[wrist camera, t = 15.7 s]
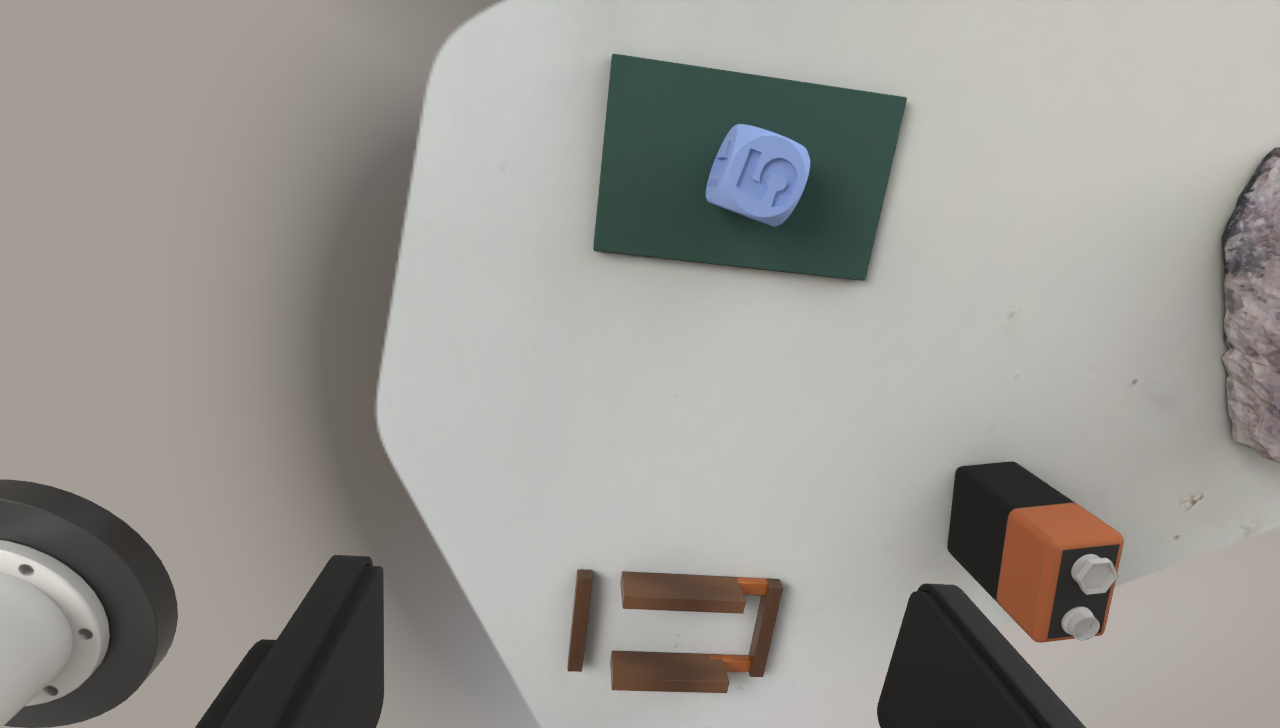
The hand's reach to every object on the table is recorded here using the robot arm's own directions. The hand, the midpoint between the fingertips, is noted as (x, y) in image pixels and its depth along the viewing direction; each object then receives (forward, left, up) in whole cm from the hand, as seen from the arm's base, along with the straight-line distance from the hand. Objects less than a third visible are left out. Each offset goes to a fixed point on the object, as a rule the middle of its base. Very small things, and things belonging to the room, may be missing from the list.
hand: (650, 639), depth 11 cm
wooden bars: (+7, -21, -26) cm, 35 cm away
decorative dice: (+7, +8, -26) cm, 28 cm away
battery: (+27, -11, -26) cm, 39 cm away
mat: (+7, +9, -26) cm, 28 cm away
